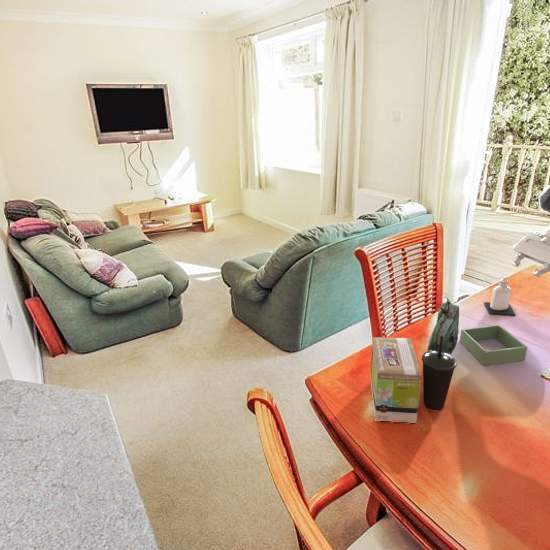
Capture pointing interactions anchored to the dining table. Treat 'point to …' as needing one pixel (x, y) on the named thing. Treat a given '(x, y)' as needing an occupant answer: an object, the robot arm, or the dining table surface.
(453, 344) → the dark green backpack
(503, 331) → the crate
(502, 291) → the eye dropper bottle
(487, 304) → the coaster
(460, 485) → the dining table surface
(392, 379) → the tea box
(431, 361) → the drinking cup
